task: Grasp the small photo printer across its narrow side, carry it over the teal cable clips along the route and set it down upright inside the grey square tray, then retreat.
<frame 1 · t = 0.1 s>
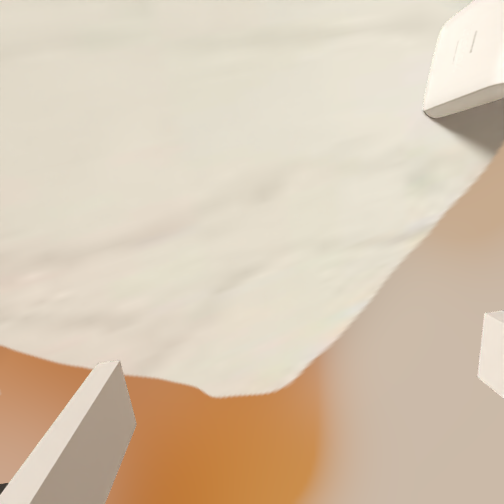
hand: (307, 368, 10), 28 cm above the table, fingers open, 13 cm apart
photo printer: (442, 72, 34), on the table
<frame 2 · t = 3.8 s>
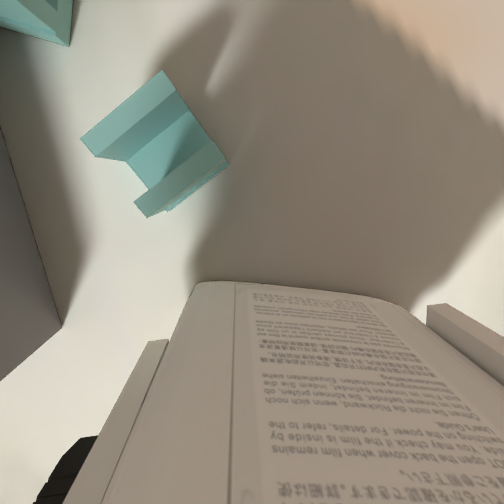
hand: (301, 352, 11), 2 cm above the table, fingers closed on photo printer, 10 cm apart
clip a: (176, 156, 11), on the table
photo printer: (289, 321, 14), on the table, touching gripper
when the fingers open (5 cm above the table, at t = 9.3 s): photo printer drops 2 cm, resting on grey square tray.
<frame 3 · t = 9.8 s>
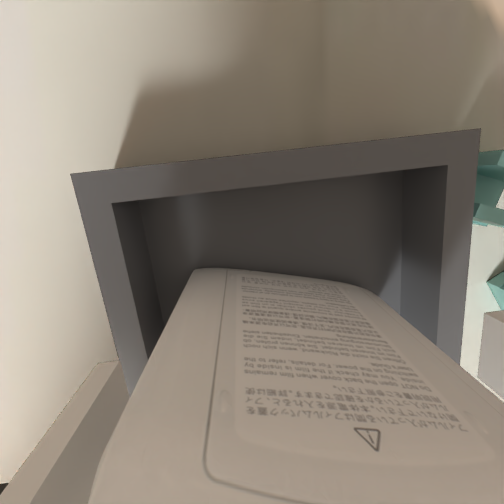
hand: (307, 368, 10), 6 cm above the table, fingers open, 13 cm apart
photo printer: (275, 305, 16), resting on grey square tray
clip b: (461, 190, 15), on the table
grey square tray: (281, 300, 16), on the table
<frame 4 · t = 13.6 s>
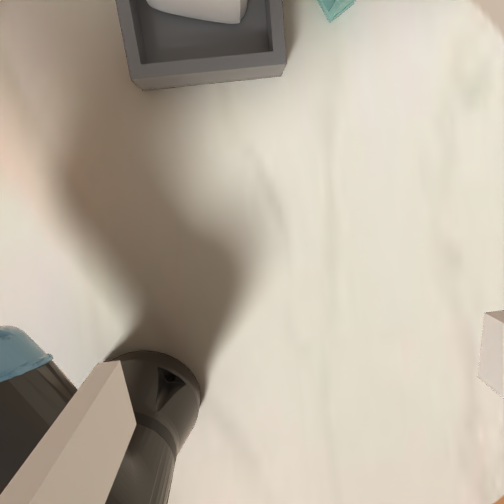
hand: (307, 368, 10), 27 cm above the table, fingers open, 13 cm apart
grey square tray: (201, 1, 30), on the table
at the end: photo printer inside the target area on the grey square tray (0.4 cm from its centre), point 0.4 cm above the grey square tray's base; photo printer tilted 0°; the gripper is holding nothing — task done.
